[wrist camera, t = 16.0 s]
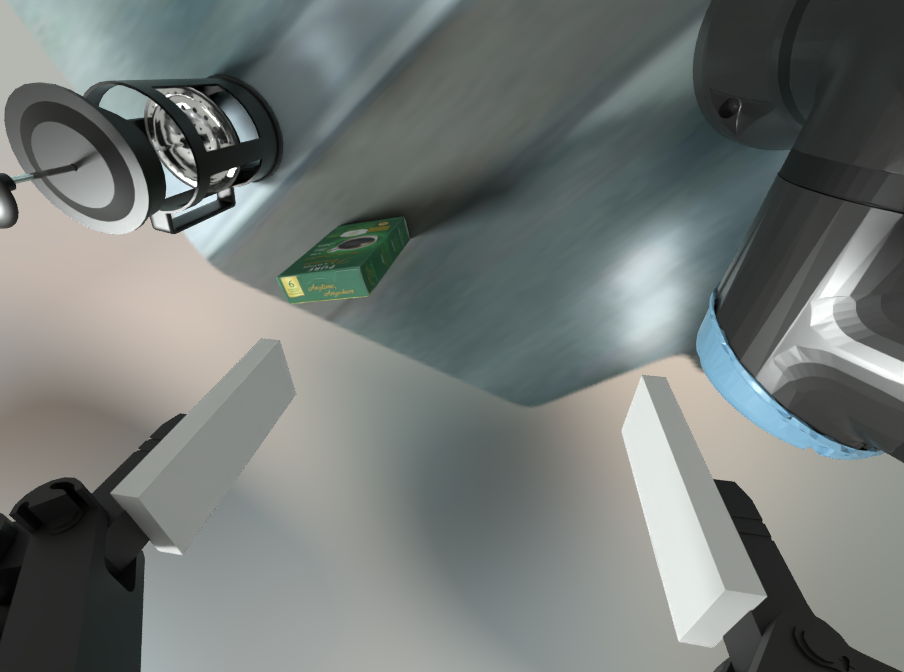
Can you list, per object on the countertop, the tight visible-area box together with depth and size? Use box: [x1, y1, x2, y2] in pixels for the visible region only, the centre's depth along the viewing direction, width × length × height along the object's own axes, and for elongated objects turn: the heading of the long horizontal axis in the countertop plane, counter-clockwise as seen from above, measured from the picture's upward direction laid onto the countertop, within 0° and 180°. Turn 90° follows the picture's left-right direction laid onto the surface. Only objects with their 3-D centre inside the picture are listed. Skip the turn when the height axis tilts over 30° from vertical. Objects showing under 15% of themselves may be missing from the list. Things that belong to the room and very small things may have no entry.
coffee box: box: [277, 216, 410, 304], centre depth 37 cm, size 8×3×13 cm, turn 101°
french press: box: [0, 75, 283, 234], centre depth 29 cm, size 12×9×23 cm
